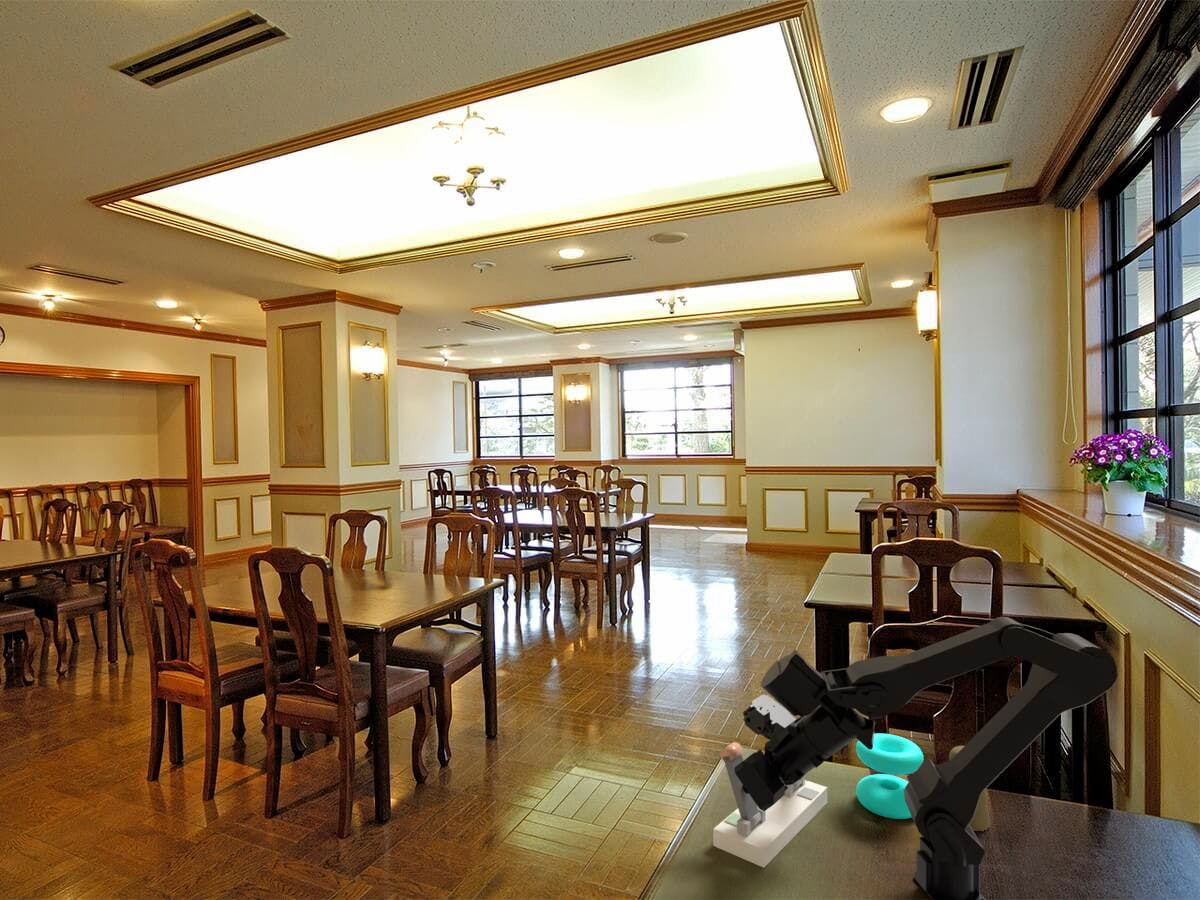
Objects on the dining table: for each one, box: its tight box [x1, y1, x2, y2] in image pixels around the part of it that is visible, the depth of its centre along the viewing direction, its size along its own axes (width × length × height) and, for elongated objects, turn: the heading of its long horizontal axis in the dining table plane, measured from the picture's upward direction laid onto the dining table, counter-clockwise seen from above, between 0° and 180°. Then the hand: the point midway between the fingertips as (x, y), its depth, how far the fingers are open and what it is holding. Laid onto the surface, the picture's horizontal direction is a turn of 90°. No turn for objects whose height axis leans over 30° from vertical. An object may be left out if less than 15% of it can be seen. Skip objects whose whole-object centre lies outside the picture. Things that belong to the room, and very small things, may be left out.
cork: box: [948, 745, 991, 832], centre depth 106 cm, size 6×6×11 cm
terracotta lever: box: [719, 741, 761, 829], centre depth 101 cm, size 2×3×11 cm, turn 140°
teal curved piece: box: [855, 732, 925, 820], centre depth 110 cm, size 10×10×10 cm
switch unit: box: [712, 774, 828, 868], centre depth 105 cm, size 8×22×4 cm, turn 140°
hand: (745, 789), depth 100 cm, fingers closed, pressing on terracotta lever
